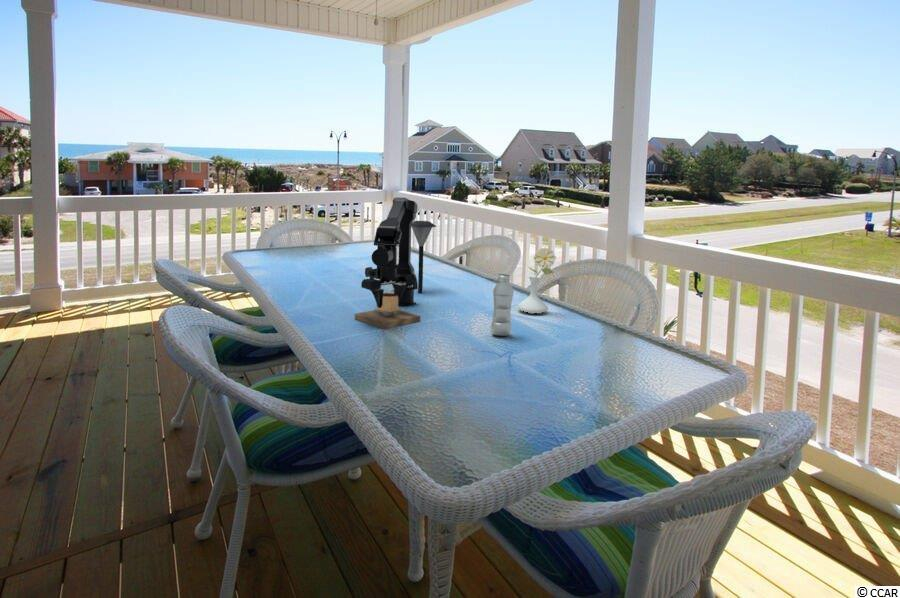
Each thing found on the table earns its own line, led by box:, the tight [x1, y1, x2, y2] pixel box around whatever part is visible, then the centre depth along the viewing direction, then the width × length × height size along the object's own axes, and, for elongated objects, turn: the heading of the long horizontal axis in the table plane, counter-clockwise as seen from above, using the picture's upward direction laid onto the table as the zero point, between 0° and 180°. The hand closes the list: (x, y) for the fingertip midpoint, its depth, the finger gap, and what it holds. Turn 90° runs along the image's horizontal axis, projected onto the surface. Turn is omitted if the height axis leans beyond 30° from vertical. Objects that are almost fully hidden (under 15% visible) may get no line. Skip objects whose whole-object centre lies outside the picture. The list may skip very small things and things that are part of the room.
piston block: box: [354, 308, 421, 330], centre depth 209 cm, size 16×16×8 cm
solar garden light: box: [411, 220, 437, 294], centre depth 251 cm, size 12×12×30 cm
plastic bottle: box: [490, 273, 515, 337], centre depth 194 cm, size 6×7×20 cm
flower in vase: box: [517, 246, 557, 314], centre depth 225 cm, size 13×11×25 cm
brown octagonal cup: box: [376, 292, 399, 312], centre depth 208 cm, size 7×7×5 cm
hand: (387, 306), depth 209 cm, fingers closed on brown octagonal cup, 7 cm apart
